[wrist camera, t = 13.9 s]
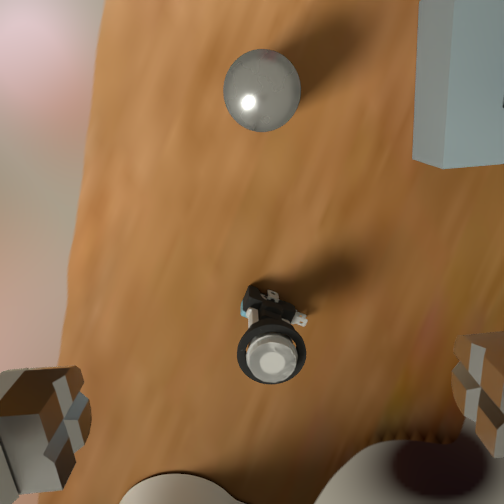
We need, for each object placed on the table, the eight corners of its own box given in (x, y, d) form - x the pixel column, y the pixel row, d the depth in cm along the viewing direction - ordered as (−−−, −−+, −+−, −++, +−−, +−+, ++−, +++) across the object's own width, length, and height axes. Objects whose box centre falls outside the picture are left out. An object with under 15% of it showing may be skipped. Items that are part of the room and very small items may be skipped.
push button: (315, 293, 41) (335, 350, 31) (293, 338, 42) (306, 405, 33) (251, 270, 40) (252, 321, 30) (231, 317, 41) (226, 379, 32)
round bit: (285, 129, 35) (298, 132, 27) (228, 128, 35) (223, 130, 27) (288, 68, 34) (303, 50, 25) (228, 66, 34) (223, 47, 25)
